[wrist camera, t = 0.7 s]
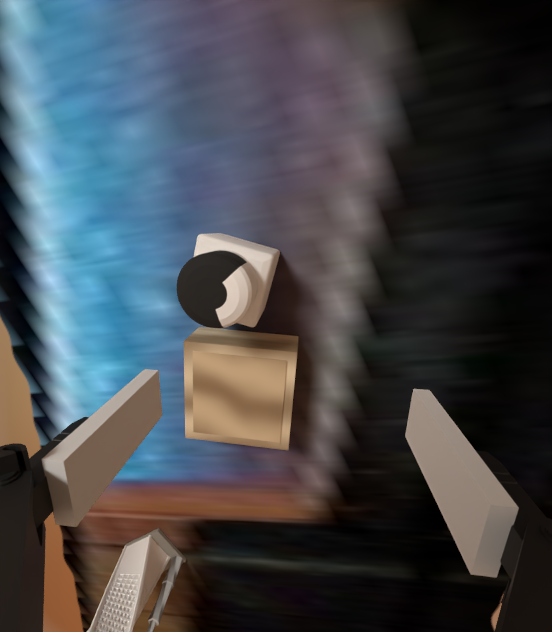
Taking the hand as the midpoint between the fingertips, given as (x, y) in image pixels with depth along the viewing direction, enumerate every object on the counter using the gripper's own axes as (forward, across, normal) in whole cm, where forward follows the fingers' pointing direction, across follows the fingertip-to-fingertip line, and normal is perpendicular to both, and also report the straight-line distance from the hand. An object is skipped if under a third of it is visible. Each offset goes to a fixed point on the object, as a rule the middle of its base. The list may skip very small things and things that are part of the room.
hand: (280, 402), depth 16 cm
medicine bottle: (+20, -6, +4) cm, 22 cm away
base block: (+20, -6, -9) cm, 23 cm away
